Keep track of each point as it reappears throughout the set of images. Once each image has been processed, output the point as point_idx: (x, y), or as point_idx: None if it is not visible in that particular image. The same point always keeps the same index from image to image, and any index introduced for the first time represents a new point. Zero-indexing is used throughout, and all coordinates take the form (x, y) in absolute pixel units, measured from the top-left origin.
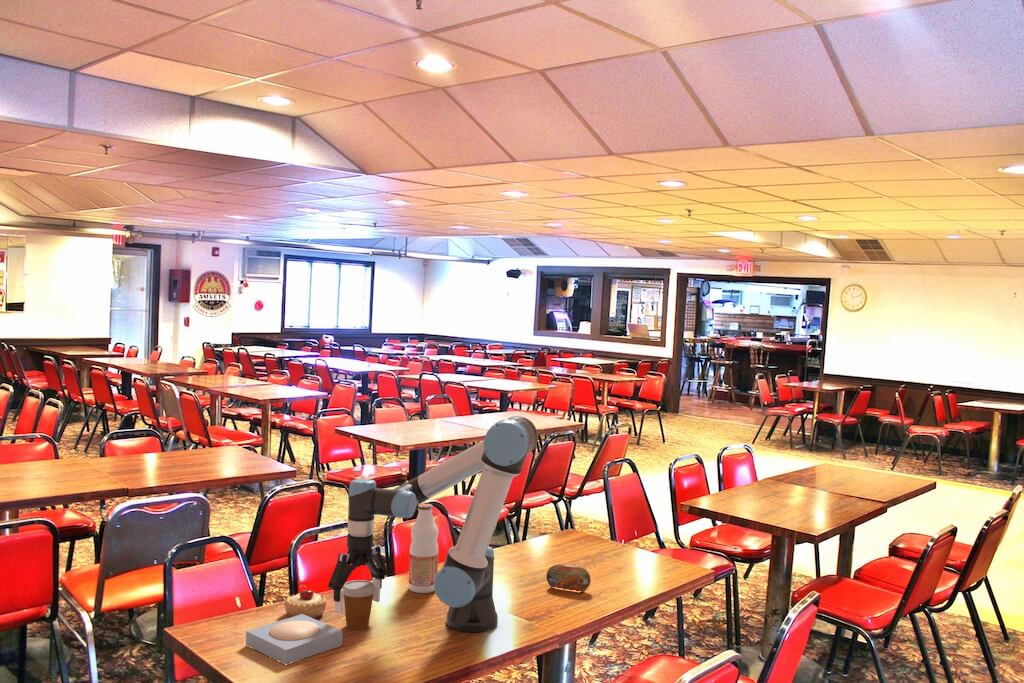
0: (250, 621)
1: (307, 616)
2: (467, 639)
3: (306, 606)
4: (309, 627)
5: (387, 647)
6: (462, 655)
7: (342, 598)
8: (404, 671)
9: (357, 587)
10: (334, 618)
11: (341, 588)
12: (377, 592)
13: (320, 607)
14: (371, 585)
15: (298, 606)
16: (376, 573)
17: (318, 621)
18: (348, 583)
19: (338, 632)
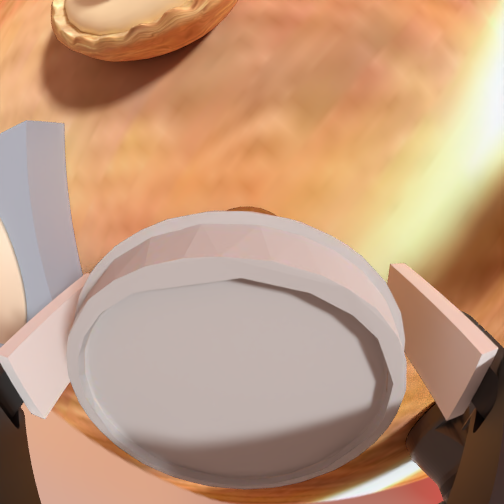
0: (25, 7)
1: (25, 164)
2: (373, 465)
3: (74, 46)
4: (1, 293)
5: None
6: (302, 492)
7: (64, 377)
8: (175, 480)
9: (191, 431)
10: (223, 100)
11: (22, 422)
12: (407, 348)
13: (152, 46)
14: (332, 451)
15: (56, 33)
16: (459, 471)
17: (35, 253)
18: (173, 280)
19: None
